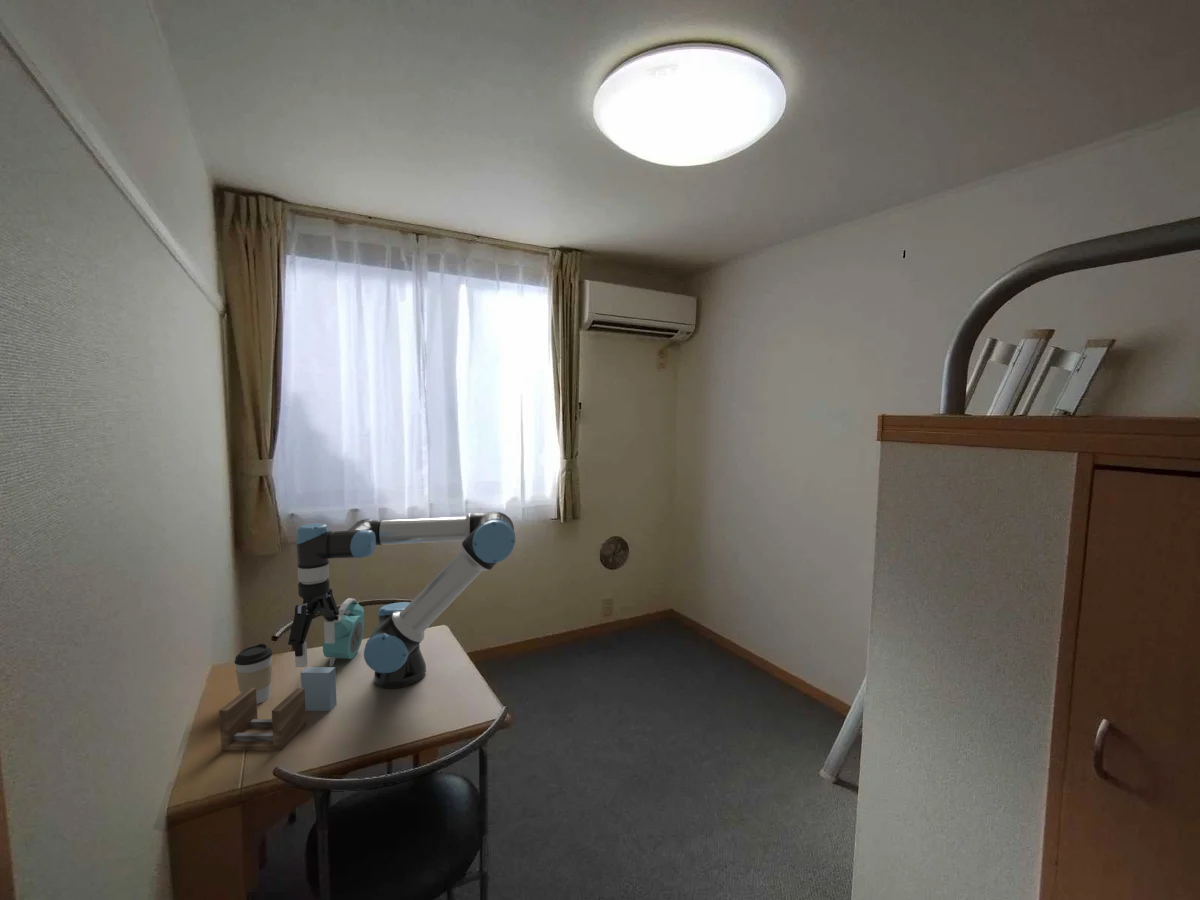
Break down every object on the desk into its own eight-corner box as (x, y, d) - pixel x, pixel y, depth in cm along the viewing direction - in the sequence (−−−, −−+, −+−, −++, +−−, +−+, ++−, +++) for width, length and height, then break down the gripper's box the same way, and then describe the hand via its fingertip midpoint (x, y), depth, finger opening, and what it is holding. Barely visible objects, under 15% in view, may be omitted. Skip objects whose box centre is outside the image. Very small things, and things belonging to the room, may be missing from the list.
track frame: (306, 725, 132) (304, 688, 131) (281, 750, 122) (279, 710, 121) (250, 724, 132) (248, 687, 131) (221, 750, 122) (219, 710, 121)
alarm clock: (341, 645, 177) (339, 591, 176) (369, 644, 178) (367, 590, 177) (318, 670, 160) (315, 610, 159) (349, 669, 161) (346, 609, 159)
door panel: (336, 704, 141) (335, 667, 141) (330, 710, 138) (329, 672, 138) (308, 704, 142) (307, 667, 141) (302, 710, 139) (300, 672, 138)
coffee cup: (255, 709, 139) (252, 658, 138) (228, 706, 141) (225, 654, 140) (282, 692, 148) (279, 643, 147) (256, 688, 150) (254, 640, 148)
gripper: (325, 566, 150) (327, 634, 151) (270, 596, 125) (273, 677, 126) (350, 566, 150) (352, 634, 151) (299, 596, 125) (302, 677, 126)
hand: (316, 654), depth 139 cm, fingers open, 13 cm apart
